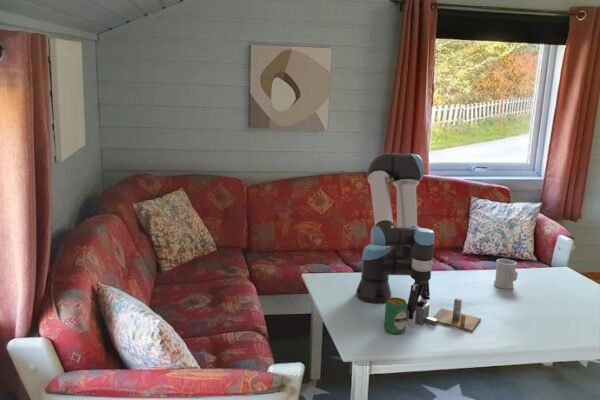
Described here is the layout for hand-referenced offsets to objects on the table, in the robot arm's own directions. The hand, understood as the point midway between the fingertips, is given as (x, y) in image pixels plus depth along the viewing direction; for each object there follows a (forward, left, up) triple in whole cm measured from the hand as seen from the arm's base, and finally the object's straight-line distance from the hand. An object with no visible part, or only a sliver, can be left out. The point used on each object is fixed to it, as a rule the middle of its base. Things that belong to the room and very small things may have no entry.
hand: (416, 320), depth 217 cm
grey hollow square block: (+2, 0, 0) cm, 2 cm away
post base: (+13, +9, 0) cm, 16 cm away
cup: (+21, +62, 0) cm, 66 cm away
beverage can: (-4, -14, 0) cm, 14 cm away
